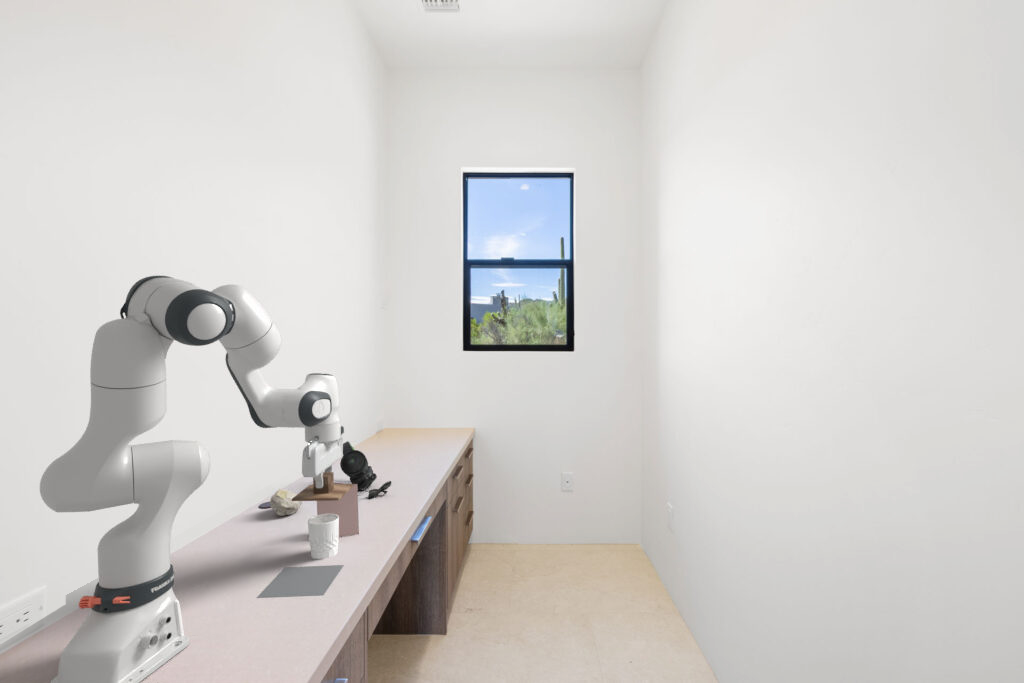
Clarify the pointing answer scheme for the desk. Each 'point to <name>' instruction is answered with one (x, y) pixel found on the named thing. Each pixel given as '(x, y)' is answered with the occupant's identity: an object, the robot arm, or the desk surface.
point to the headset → (360, 470)
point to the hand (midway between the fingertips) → (324, 484)
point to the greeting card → (343, 511)
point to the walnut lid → (324, 490)
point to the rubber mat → (301, 581)
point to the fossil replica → (284, 502)
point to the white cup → (323, 535)
